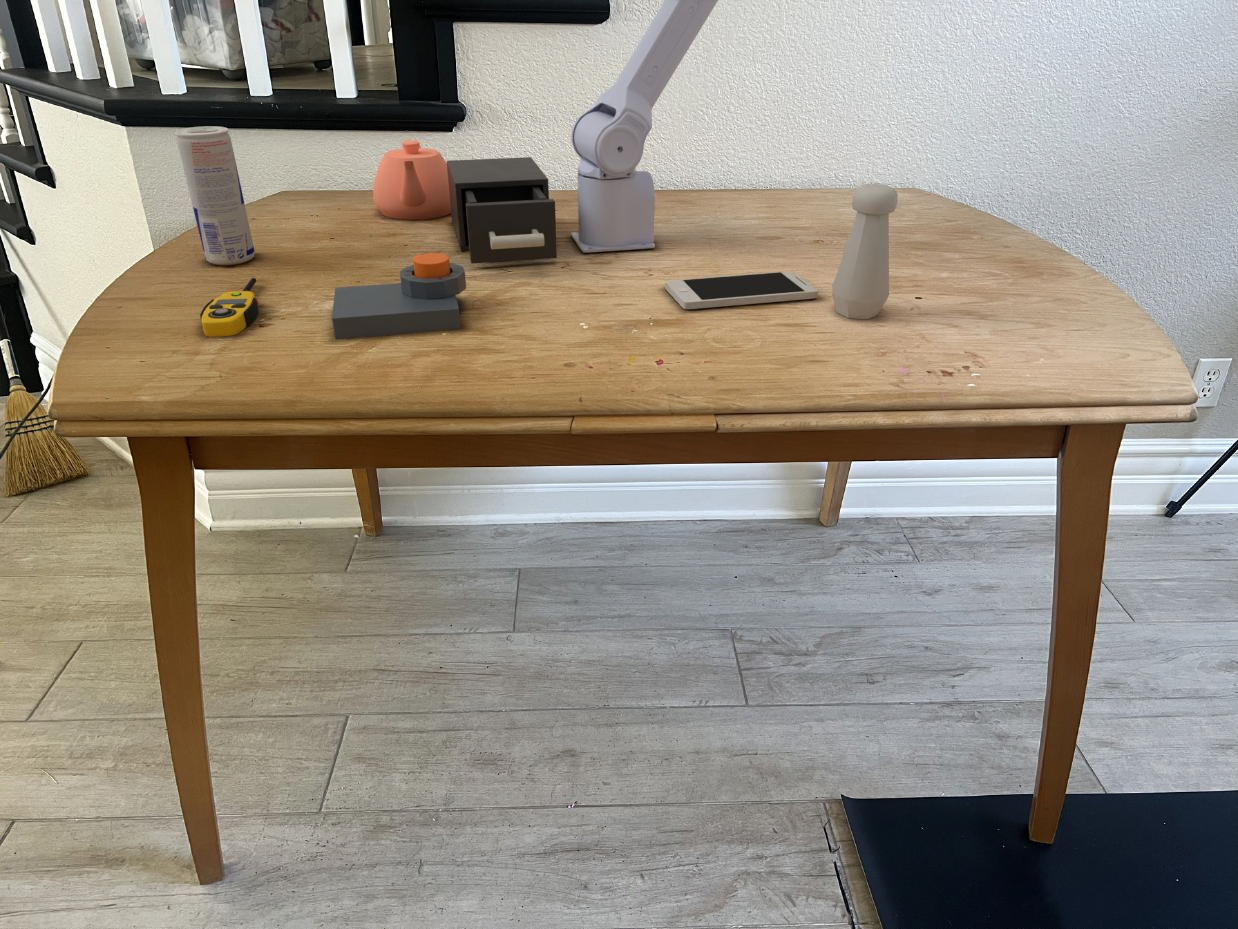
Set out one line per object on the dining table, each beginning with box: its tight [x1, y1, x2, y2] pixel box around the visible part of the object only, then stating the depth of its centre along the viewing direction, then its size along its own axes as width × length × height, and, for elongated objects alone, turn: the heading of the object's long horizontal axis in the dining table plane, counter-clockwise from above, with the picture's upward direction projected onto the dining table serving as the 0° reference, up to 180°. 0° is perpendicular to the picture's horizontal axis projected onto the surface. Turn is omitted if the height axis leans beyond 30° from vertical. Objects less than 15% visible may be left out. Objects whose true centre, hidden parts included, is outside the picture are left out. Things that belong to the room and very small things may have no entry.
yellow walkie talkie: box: [199, 277, 259, 338], centre depth 89 cm, size 5×2×15 cm
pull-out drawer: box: [463, 185, 558, 265], centre depth 103 cm, size 17×10×7 cm, turn 14°
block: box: [331, 262, 467, 340], centre depth 87 cm, size 13×10×4 cm
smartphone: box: [664, 270, 819, 310], centre depth 94 cm, size 7×16×1 cm, turn 104°
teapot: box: [372, 140, 451, 220], centre depth 121 cm, size 12×18×10 cm
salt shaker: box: [831, 183, 899, 320], centre depth 87 cm, size 6×6×13 cm
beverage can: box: [174, 125, 256, 266], centre depth 100 cm, size 6×6×15 cm
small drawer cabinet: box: [446, 156, 550, 253], centre depth 112 cm, size 13×11×8 cm
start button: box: [412, 252, 450, 278], centre depth 88 cm, size 4×4×2 cm
